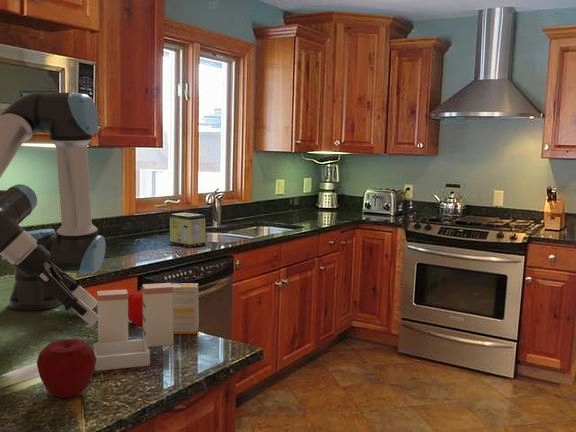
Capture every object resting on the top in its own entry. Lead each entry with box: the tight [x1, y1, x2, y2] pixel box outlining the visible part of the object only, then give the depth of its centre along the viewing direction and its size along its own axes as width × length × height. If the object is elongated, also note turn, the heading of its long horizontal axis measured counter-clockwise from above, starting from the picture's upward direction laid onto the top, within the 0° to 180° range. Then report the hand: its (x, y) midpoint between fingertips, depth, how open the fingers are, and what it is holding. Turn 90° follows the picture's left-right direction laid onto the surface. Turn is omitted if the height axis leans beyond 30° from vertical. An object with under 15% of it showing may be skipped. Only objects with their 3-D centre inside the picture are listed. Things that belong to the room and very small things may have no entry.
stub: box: [96, 288, 129, 343], centre depth 143 cm, size 4×7×14 cm, turn 110°
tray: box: [93, 338, 151, 372], centre depth 135 cm, size 10×12×3 cm
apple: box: [36, 338, 96, 399], centre depth 115 cm, size 11×11×12 cm
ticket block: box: [141, 282, 174, 348], centre depth 147 cm, size 5×7×15 cm, turn 110°
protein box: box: [169, 212, 206, 246], centre depth 292 cm, size 10×16×16 cm
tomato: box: [128, 286, 143, 327], centre depth 163 cm, size 11×13×10 cm
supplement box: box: [170, 282, 200, 335], centre depth 156 cm, size 8×5×13 cm, turn 92°
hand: (95, 313), depth 140 cm, fingers open, 13 cm apart
